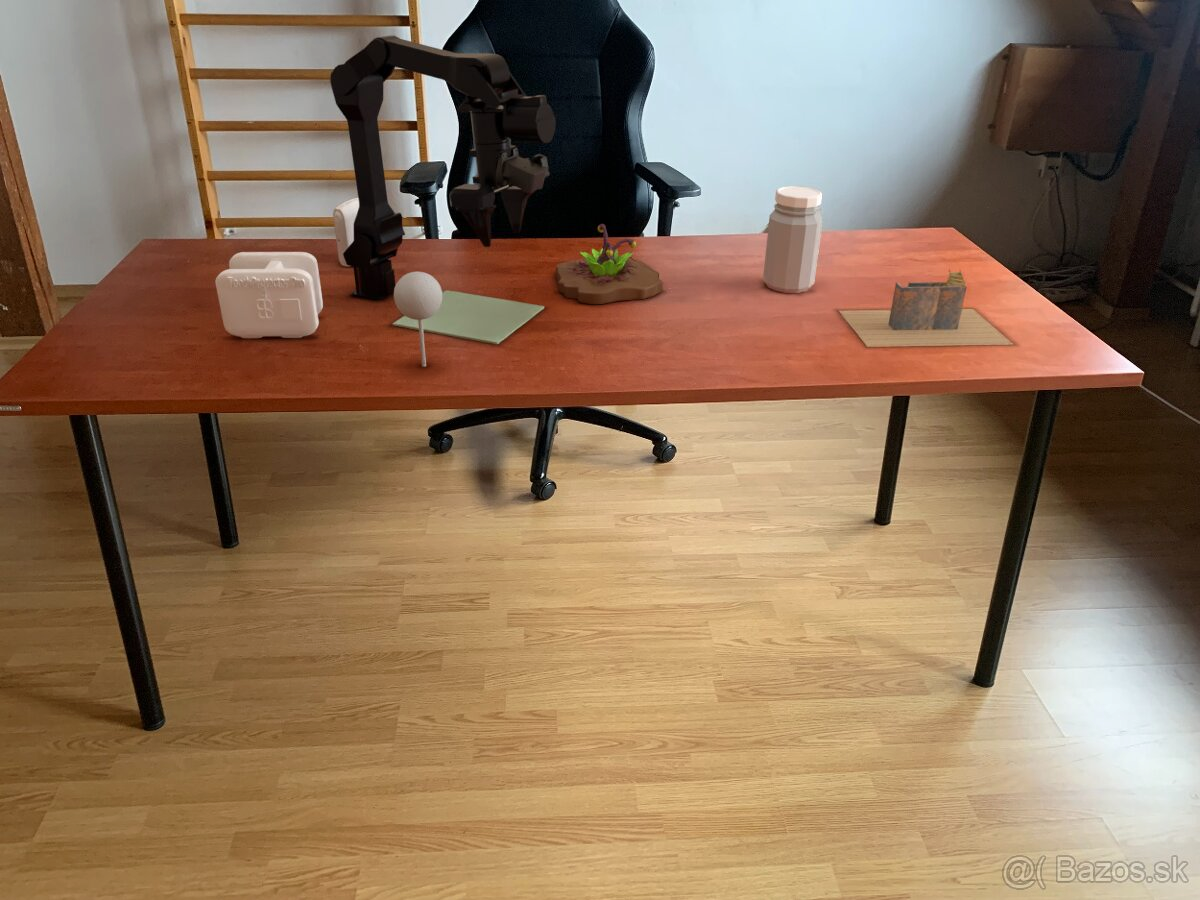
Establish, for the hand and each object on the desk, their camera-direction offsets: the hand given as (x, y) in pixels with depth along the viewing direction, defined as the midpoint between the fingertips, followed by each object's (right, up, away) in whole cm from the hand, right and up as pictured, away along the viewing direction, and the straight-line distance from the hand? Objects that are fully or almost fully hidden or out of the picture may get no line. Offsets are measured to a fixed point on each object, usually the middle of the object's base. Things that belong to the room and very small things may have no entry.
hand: (502, 239), depth 155 cm
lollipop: (-11, -22, -9) cm, 26 cm away
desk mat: (-7, -12, +9) cm, 16 cm away
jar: (+52, -4, +25) cm, 58 cm away
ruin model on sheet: (+72, -14, +8) cm, 74 cm away
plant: (+17, -3, +24) cm, 30 cm away
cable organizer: (-38, -15, +3) cm, 41 cm away
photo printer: (-32, +3, +34) cm, 47 cm away
